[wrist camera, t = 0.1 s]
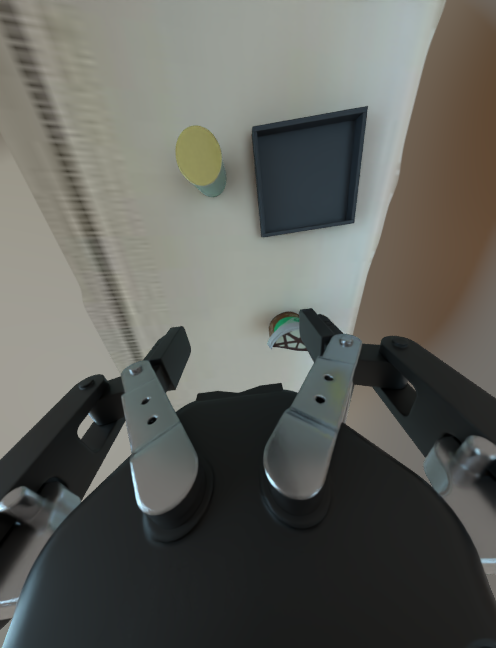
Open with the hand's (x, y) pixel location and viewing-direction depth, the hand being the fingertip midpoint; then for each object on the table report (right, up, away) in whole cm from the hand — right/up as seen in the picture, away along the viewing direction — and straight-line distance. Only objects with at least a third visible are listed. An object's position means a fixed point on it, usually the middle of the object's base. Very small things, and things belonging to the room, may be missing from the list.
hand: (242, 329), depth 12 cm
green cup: (-6, +26, +19) cm, 33 cm away
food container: (+11, +2, +33) cm, 35 cm away
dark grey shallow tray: (+11, +26, +20) cm, 34 cm away
